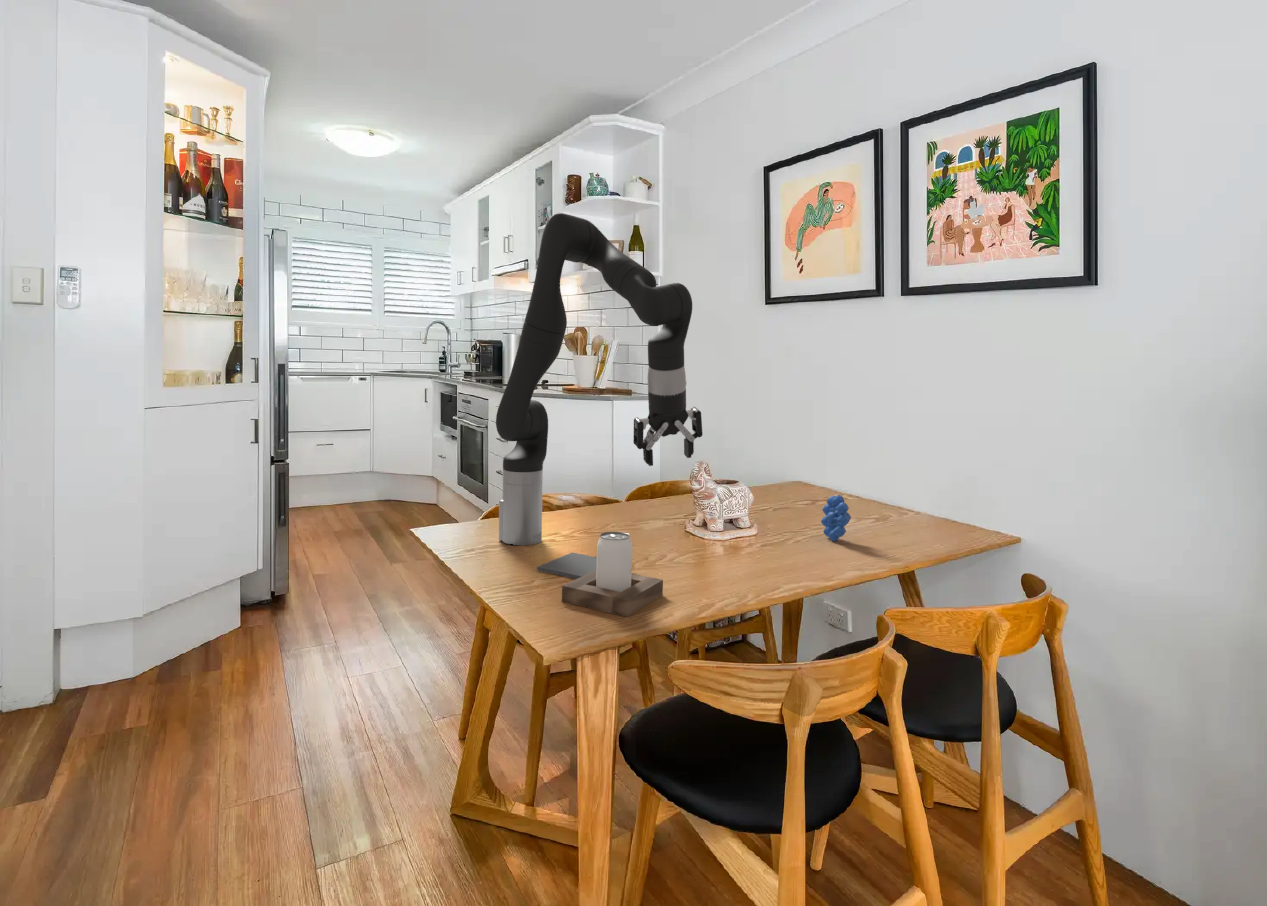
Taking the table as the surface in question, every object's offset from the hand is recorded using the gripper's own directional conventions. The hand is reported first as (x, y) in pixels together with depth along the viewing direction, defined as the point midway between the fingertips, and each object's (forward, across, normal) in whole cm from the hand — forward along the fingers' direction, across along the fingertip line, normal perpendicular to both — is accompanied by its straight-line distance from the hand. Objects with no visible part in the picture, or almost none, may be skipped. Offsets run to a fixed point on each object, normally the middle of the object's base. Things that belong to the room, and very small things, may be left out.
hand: (668, 460), depth 150 cm
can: (+16, +20, +20) cm, 32 cm away
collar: (+15, +20, +20) cm, 32 cm away
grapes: (+34, -46, -4) cm, 58 cm away
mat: (+20, +21, +1) cm, 29 cm away
